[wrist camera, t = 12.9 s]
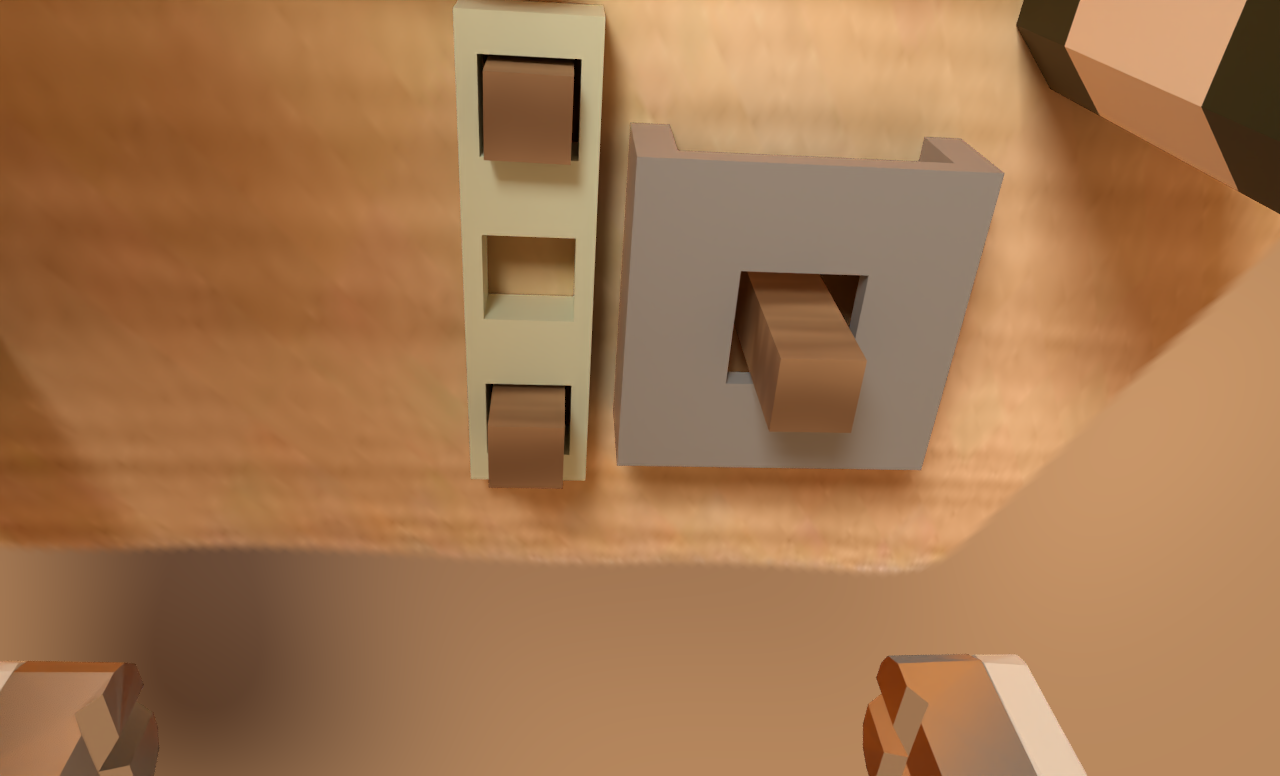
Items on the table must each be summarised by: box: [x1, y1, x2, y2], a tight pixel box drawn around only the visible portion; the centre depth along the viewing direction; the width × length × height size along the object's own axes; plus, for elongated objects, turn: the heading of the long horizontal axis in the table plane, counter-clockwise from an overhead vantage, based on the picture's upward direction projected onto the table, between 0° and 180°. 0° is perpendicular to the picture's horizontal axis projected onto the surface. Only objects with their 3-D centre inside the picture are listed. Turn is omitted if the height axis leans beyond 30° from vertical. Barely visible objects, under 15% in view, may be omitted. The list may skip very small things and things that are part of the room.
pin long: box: [734, 271, 867, 433], centre depth 38 cm, size 3×3×9 cm
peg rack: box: [453, 0, 605, 481], centre depth 39 cm, size 21×5×2 cm, turn 176°
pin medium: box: [488, 384, 565, 489], centre depth 41 cm, size 3×3×6 cm
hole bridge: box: [613, 123, 1004, 470], centre depth 39 cm, size 14×14×4 cm
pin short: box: [483, 54, 574, 165], centre depth 35 cm, size 3×3×4 cm
